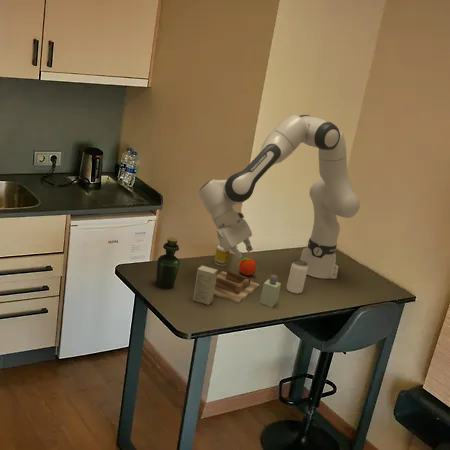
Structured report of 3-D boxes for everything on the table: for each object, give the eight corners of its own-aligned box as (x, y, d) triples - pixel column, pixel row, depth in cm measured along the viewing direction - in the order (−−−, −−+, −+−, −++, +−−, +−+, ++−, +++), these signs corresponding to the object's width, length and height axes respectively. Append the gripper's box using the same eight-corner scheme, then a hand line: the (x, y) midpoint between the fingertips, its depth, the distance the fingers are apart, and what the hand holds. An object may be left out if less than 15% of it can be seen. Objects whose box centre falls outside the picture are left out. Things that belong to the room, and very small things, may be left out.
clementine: (239, 277, 242) (243, 261, 239) (232, 270, 248) (235, 254, 245) (257, 277, 245) (260, 261, 243) (249, 270, 251) (253, 254, 249)
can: (292, 285, 244) (299, 258, 241) (305, 292, 240) (312, 264, 237) (282, 288, 240) (289, 260, 236) (295, 295, 236) (302, 267, 232)
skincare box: (212, 301, 217) (218, 269, 213) (208, 305, 213) (214, 273, 209) (196, 295, 219) (202, 264, 215) (191, 299, 215) (197, 268, 211)
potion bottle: (178, 290, 220) (186, 244, 215) (156, 289, 217) (164, 243, 212) (172, 280, 227) (180, 235, 222) (151, 279, 224) (158, 234, 219)
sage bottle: (264, 298, 228) (270, 271, 224) (276, 302, 226) (282, 276, 223) (259, 302, 223) (265, 275, 220) (271, 307, 222) (278, 280, 218)
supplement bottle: (225, 267, 249) (229, 245, 246) (212, 264, 250) (217, 242, 247) (227, 262, 254) (232, 241, 251) (215, 259, 255) (219, 238, 252)
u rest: (222, 273, 243) (224, 264, 241) (258, 286, 237) (261, 277, 236) (199, 288, 225) (201, 279, 224) (238, 303, 219) (241, 293, 218)
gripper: (222, 223, 214) (241, 257, 213) (244, 212, 232) (262, 243, 232) (208, 231, 217) (227, 265, 216) (231, 219, 235) (249, 251, 234)
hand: (245, 254), depth 224 cm, fingers open, 8 cm apart
